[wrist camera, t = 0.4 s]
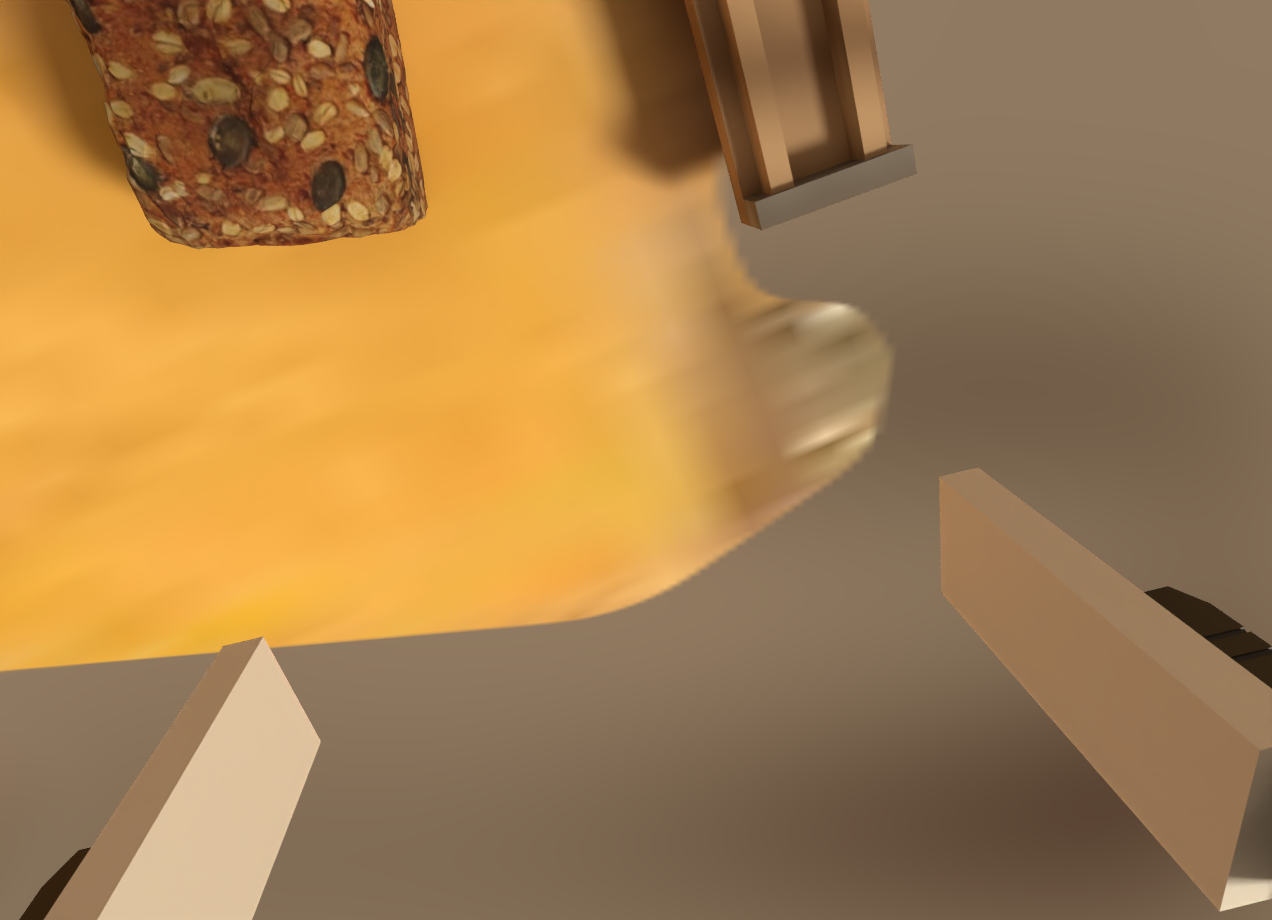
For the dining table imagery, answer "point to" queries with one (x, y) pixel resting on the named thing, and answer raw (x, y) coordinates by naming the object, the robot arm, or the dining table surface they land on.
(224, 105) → the bread
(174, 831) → the robot arm
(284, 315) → the dining table surface
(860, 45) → the beam
